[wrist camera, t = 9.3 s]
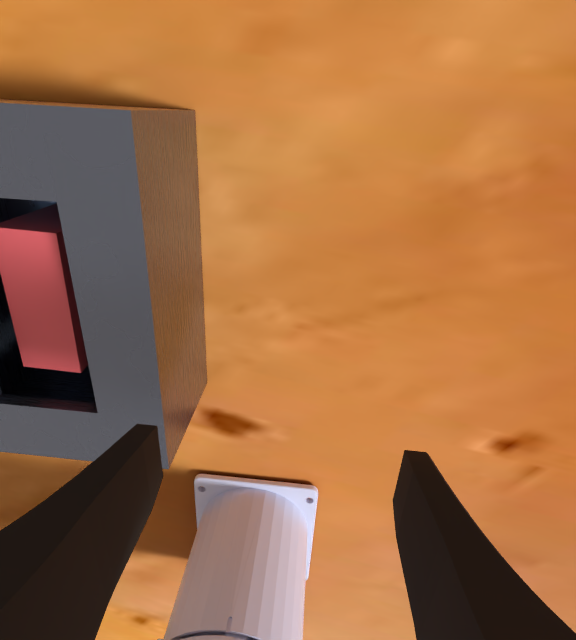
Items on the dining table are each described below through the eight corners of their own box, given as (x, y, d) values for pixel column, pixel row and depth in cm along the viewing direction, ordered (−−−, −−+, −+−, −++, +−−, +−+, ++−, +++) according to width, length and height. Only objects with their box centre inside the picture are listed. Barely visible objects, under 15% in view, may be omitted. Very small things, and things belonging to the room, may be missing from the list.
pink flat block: (130, 320, 22) (80, 373, 18) (84, 315, 22) (23, 366, 18) (118, 205, 19) (56, 233, 15) (66, 200, 20) (-12, 226, 15)
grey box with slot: (207, 382, 24) (168, 469, 18) (39, 367, 25) (-50, 446, 19) (195, 110, 18) (130, 110, 12) (-31, 97, 18) (-197, 91, 12)
